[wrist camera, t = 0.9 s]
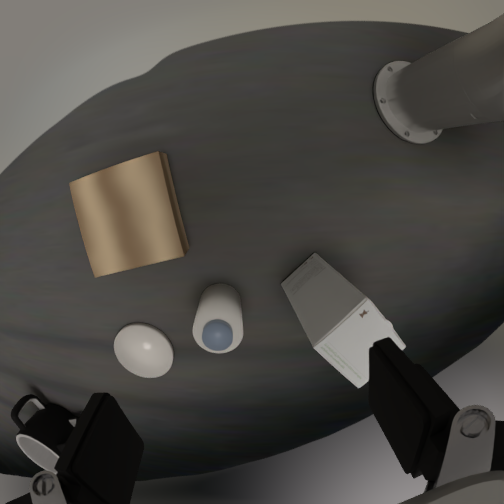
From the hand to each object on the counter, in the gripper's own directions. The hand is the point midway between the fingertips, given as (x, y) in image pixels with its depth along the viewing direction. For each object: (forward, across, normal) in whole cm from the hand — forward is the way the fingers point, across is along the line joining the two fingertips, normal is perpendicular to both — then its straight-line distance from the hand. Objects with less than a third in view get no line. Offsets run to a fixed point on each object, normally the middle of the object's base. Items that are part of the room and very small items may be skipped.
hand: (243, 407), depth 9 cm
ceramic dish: (+28, +17, +13) cm, 35 cm away
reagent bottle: (+28, +4, +8) cm, 29 cm away
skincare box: (+28, -9, +9) cm, 31 cm away
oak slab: (+28, +12, -6) cm, 31 cm away
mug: (+28, +44, +28) cm, 59 cm away
